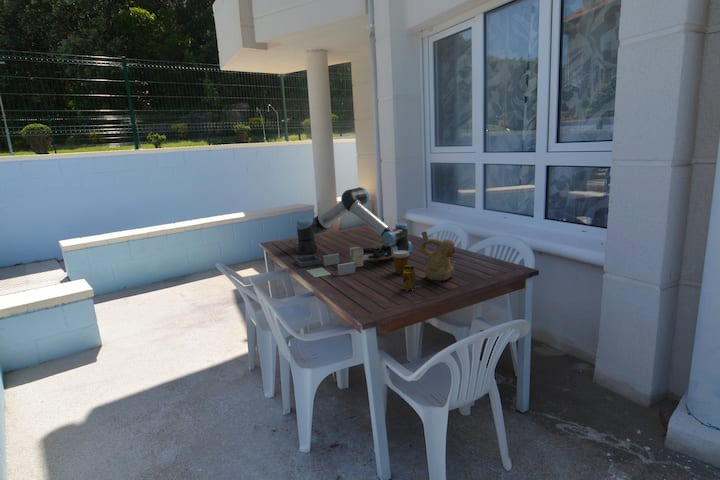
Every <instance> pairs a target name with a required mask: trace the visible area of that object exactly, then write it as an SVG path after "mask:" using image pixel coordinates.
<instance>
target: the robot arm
mask: <svg viewBox="0 0 720 480" xmlns="http://www.w3.org/2000/svg"><path fill="white" fill-rule="evenodd" d="M369 199H370V194H369V191H368V190H367V189H366V188H364V187H360V186H359V187H358V186H357V188H351V189H347V190H345V191H344V192H343V193H342V195H341V200H340V201H339V202H337V203H336V204H335V205H334V206H332V207H330V208H329V209H328V210H327V211H325V212H324V213H323V212H322V213H319V214H317V215H316V216H315V217H313V218H312V217H304V218H300V219H298V220H297V221H296V234H297V245H296V254H298V255H312V254H315V253H318V252H319V247H318V244H317V243H316V237H315V236H316V235H318V234H321V233H325V232H326V231H328V230H329V229H330V227H331V225H332V224H333V223H334V222H335V221H337V220H339V219H340V218H341V217H343V216H345V214H347V213H348V212H349V213H350V214H354V215H355V216H356V217H358V219H360V220H362V222H364V223H365V224H366V225H367V226H368V227H369V228H371V229H372V230H373V231H374V232H376V233H377V234H378V235H379V236H380V237H381V238H382V241H383V243H384V244H383V245H381V248H380V247H378V246H377V247H365V248H364V247H362V248H363V261H368V260H372V259H374V260H378V259H381V258H384V257H385V258H387V257H393V255H392V254H393V252H394V251H397V250H406V251H408V253H409V254H410V252H412V251H413V245H412V242H411V241H410V240H409V233H408V232H409V229H408V224H407V223H405V222H401V223H400V222H399V223H396V224H395V228H393V229H392V228H391V226H388V225H387V224H386V223H385V222H384V221H383V220H381V219H380V218H379V217H378V216H377V215H375V214H374V213H373V212H371V211H370V210H369V208H366V206H364V205H366V204H367V203H368V202H369ZM364 254H365V255H364Z"/></svg>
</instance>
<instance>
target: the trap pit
mask: <svg viewBox="0 0 720 480" xmlns="http://www.w3.org/2000/svg"><path fill="white" fill-rule="evenodd" d="M294 264H296V266H298V267H299V268H300V269H303V268H309V267H310V268H311V267H315V266H321V265H324V262H323V258H321V257H319V256H318V255H316V254H313V255H312V254H311V255H307V256H300V257H295V258H294Z"/></svg>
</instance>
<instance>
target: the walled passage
mask: <svg viewBox="0 0 720 480" xmlns="http://www.w3.org/2000/svg"><path fill="white" fill-rule="evenodd" d="M322 262H323V266H330V265H332V266H333V265H337V266H336V267H337V275H338V276H344V275H351V274H355V273H356V267H355V263H354V262H345V263H341V261H340V253H339V252H337V253H332V254H326V255H322Z"/></svg>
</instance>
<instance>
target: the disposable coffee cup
mask: <svg viewBox="0 0 720 480" xmlns="http://www.w3.org/2000/svg"><path fill="white" fill-rule="evenodd" d="M392 255H393V256H392V258H393V263H394V271H395V273H396V274H397V275H403V271H404V265H409V264H408V263H409V256H410V252H409V253H408V251H406V250H397V251H394V252H393V254H392Z"/></svg>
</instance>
